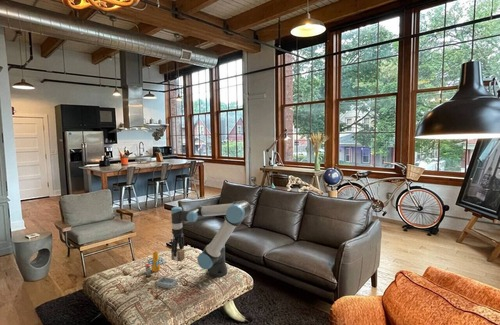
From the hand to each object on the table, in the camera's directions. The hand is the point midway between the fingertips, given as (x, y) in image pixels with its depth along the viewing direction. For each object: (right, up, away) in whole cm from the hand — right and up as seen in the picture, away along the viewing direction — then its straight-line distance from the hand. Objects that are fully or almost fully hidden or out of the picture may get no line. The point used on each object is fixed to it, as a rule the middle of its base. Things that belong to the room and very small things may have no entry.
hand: (178, 258), depth 216 cm
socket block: (-20, -13, -6) cm, 25 cm away
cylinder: (-19, -12, +9) cm, 25 cm away
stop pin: (-20, -13, -6) cm, 25 cm away
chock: (0, 0, 0) cm, 1 cm away
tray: (-5, -14, -13) cm, 19 cm away
